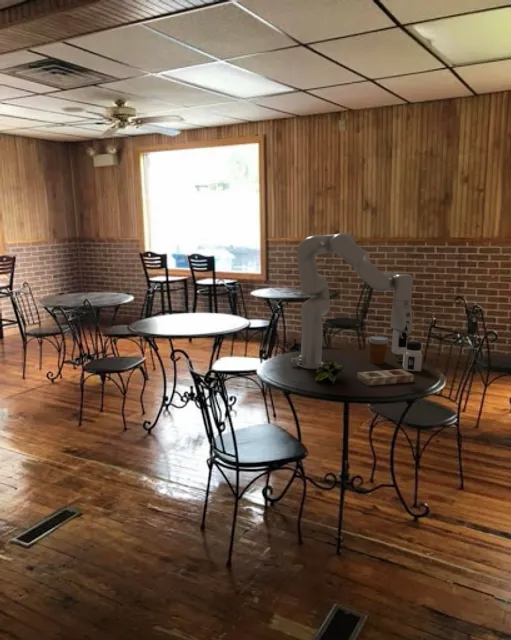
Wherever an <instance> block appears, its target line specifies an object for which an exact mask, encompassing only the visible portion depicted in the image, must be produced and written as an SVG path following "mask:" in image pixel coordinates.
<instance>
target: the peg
mask: <svg viewBox="0 0 511 640" xmlns="http://www.w3.org/2000/svg"><path fill="white" fill-rule="evenodd" d="M404 331H405V329H404ZM404 333H405V332H403V334H404ZM400 338H401V336H400V331H399V330H396V329H393V335H392V339H391V340H392V341H391V353H393V354H394V355H395V354H406V350H407V344H406V347H401V348H400V347H399V340H400Z"/></svg>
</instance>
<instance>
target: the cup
mask: <svg viewBox="0 0 511 640" xmlns="http://www.w3.org/2000/svg"><path fill="white" fill-rule="evenodd" d="M394 356H395V358H397V362H399V363H403V354H395V353H394Z"/></svg>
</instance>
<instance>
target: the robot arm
mask: <svg viewBox="0 0 511 640" xmlns="http://www.w3.org/2000/svg"><path fill="white" fill-rule="evenodd" d="M324 254H337V255H338V256H339V257H340V258H341V259H343V260H344V261H345V262H346V263H348V264H349V265H350V266H351V267H352V268H353V269H354V271H355V272H356V274H358V275H357V276H359V278H361V279H362V280H363V282H365V283H366V284H367V285H368V286H370V288H372V289H373V290H375V291H377V292H380V293H384V292H386V291H390V290H392V291H393V292H392V293H393V294H392V306H391V307H392V309H391V314H390V325H389V327H390V329H391V332H392V334H391V335H392V336H393V329H396V330H399V331H400V336H401V338H400V340H399V347H400V348H401V347H406V344H407V341H408V338H409V335H411V334H412V330H413V309H412V299H413V297H412V296H413V295H412V294H413V283H414V282H413V280H414V277H413V275H411V274H408V273H394V272H393V273H392V272H389V271H387V272H381V270H379V269H378V268H377V267H376V266H375V265H374V264H373V263H372V262H371V260H370V256H369V254H368V252H367V251H366V250H364V249H363V248H362V247H361V246H360V245H358V244H357V243H356V239H355V237H354V236H353V235H352V234H350V233H348V232H341V233H335V234H324V235H322V234H321V235H311V236H308V237H306V238H305V239H303V240H302V241H301V242H300V243H299V244H298V247H297V251H296V259H297V260H296V261H297V266H298V267H297V268H298V275H299V283H300V290H301V292H302V293H303V295H304V296H307V297H310V298H309V299H307V300H305V301H304V302H303V303H302V304H301V305H302V306H301V308H300V317H301V342H300V343H301V345H300V346H301V349H300V354H299V355H298V356H297V357H290V362H291V363H296V365H297V366H298V367H300V368H303V369H309V370H315V369H316V370H317V369H319V368H318V367H321V366H322V363H324V362H323V361H322V350H323V319H322V317H325V316H327V314H329V312H330V310H331V300H330V299H331V297H330V291H329V290H330V289H329V283H328V280H327V278H326V277H325V276H324V275H323V274H320V273H319V271H318V263H317V260H316V256H317V255H324ZM404 330H405V331H404ZM403 332H405V333H404V334H403Z"/></svg>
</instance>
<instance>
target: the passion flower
mask: <svg viewBox="0 0 511 640" xmlns="http://www.w3.org/2000/svg"><path fill="white" fill-rule="evenodd" d="M344 369H345V366H344V365H342V364H341V363H339V362H337V361H335V360H334V359H329V360H328V359H326V360H325V362H323V363H322V366H321V367H318V369H316V371H315V374H317V375H316V377H315V379H314V381H315V382H318V381H319V382H320V381H323V380H324V379H326V378H328V380H329V381H331V382H332V384H331V385H334V384H335V381H336V379H337V378H338V376H339V375H340V374H344V373H345V372H344Z"/></svg>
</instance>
